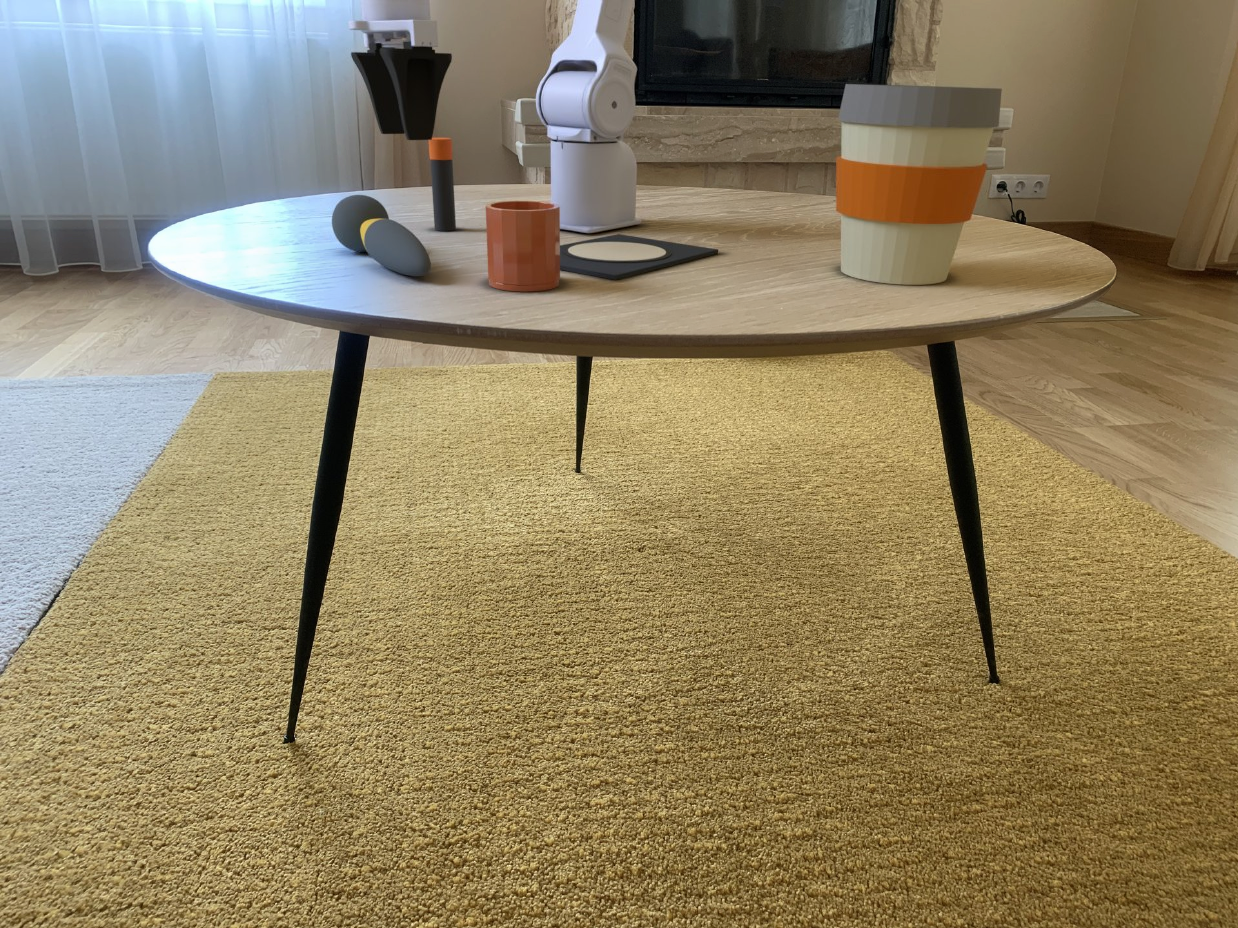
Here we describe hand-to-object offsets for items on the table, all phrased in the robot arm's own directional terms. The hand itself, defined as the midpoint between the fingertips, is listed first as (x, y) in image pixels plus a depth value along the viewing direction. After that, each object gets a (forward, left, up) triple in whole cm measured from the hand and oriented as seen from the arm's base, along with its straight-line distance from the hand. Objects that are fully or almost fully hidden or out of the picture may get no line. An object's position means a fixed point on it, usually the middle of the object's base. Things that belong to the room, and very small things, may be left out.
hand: (405, 137), depth 78 cm
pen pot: (+5, +19, -10) cm, 22 cm away
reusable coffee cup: (-20, +39, -10) cm, 45 cm away
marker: (-8, -5, -10) cm, 14 cm away
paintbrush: (+6, +4, -10) cm, 13 cm away
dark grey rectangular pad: (-9, +17, -10) cm, 22 cm away
